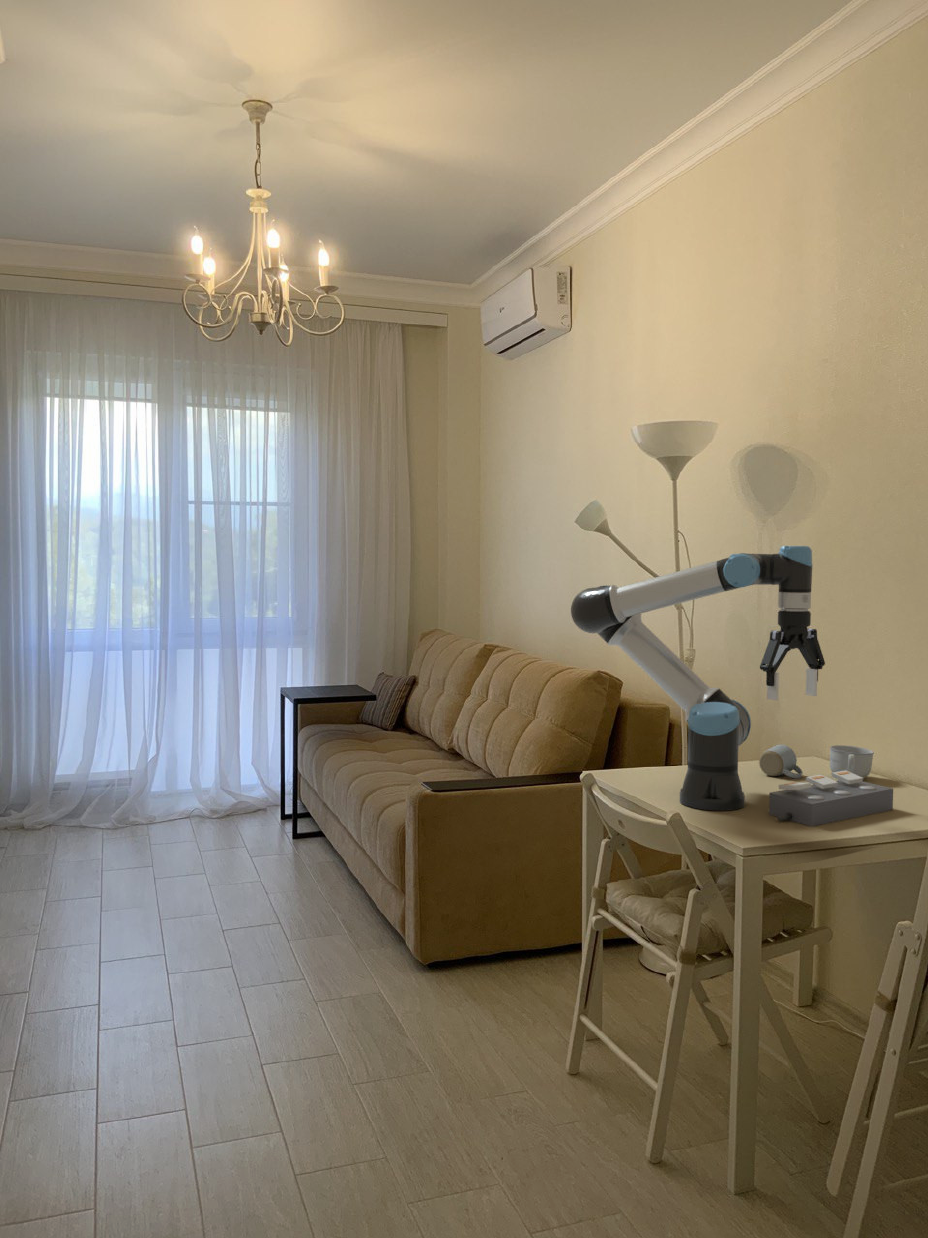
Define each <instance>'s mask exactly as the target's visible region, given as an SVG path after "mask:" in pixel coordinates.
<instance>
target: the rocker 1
mask: <svg viewBox="0 0 928 1238" xmlns="http://www.w3.org/2000/svg"><path fill="white" fill-rule="evenodd" d="M811 785H812V784H811V783H809V782H796V781H795V782H788V783H787V782H786V783H781V784H778V789H779V790H787V791H791V790H799V789H805V788H811Z"/></svg>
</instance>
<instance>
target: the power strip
mask: <svg viewBox="0 0 928 1238" xmlns="http://www.w3.org/2000/svg"><path fill="white" fill-rule="evenodd" d="M835 781H836V782H838V784H837V786H836V787H831V788H825V789H822V788H820V787H817V786H814V785H813V784H811V788H805V789H799V790H791V791H787V790H783V789H781V790H778V791H772V792H769V797H768V798H769V800H768V801H769V802H768V803H769V804H768V805H769V806H768V814H769V815H770V816H774V817H777V820H778V821H787V820H788V821H791V822H795V823H798V824H802V825H805V826H808V827H815V826H820V825H826V824H831V823H836V822H839V821H845V820H850V819H855V818H859V817H865V816H869V815H873V814H878V813H883V812H888V811H892V810H893V807H894V788H892V787H888V786H883V785H879V784H876V783H871V782H866V781H864V780H863V781H862V782H859V783H853V784H847V783H844V782H840V781H839V780H835Z"/></svg>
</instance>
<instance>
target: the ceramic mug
mask: <svg viewBox="0 0 928 1238" xmlns="http://www.w3.org/2000/svg"><path fill="white" fill-rule="evenodd" d="M797 761H798V759H797V755H796V752H795V751H794V750H793V748H791V747H790V746H788V745H787V744H777V745H774V746H773V747H771V748H769V749H767V750H765V751H763V752H762V753H761V755H760V757H759V760H758V764H759V767H760V769H761V772H763V773H764V774H765V775H767V776H769V777H778V776H781V775H785V776H786V777H789V778H791V779H796V780H797V779H798V780H799V779H801V777H802V775H803V773H804V772H803V770H802V768H800V767H799V765H797ZM792 771H794V772H792Z"/></svg>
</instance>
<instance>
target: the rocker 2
mask: <svg viewBox="0 0 928 1238" xmlns="http://www.w3.org/2000/svg"><path fill="white" fill-rule="evenodd" d="M805 781H806V783H811V785H814V786H817V787H820V788H822V789H825V788H831V787H836V786H837V784H838V782H836V781H837V780H833V779H831V778H829V777H827V776H825V775H822V774H816V775H810V776H806V777H805Z"/></svg>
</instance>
